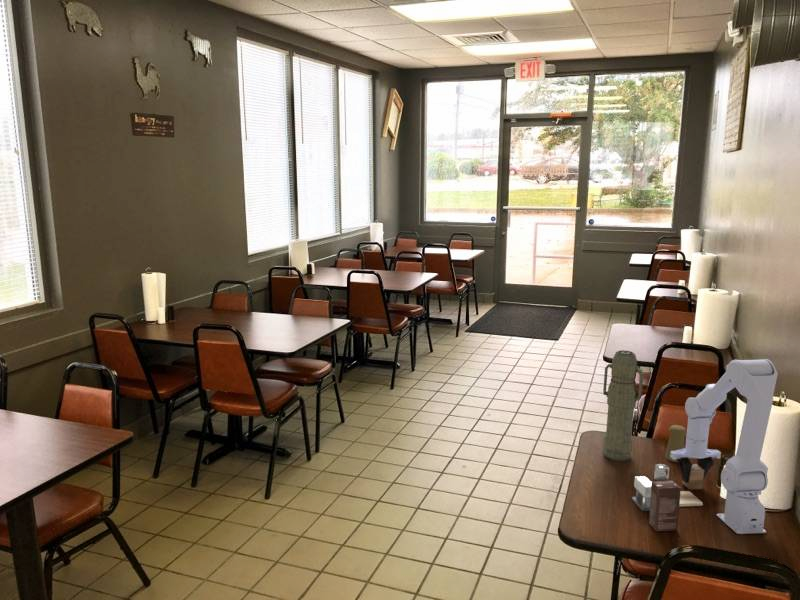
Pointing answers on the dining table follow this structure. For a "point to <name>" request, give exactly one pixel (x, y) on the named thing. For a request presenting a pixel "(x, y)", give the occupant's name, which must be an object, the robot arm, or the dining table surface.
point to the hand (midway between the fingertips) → (692, 480)
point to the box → (664, 505)
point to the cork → (675, 440)
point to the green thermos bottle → (621, 405)
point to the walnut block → (695, 478)
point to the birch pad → (689, 499)
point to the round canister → (661, 472)
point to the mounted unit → (642, 492)
